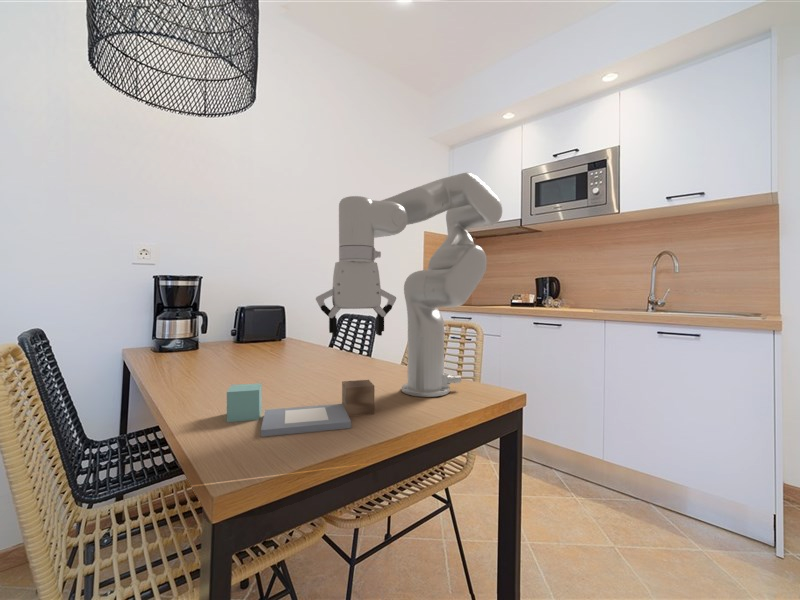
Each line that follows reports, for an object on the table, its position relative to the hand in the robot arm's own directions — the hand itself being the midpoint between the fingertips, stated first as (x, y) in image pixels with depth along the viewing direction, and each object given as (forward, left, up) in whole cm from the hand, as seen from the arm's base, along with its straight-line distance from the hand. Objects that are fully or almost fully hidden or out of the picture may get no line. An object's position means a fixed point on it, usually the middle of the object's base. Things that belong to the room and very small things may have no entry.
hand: (357, 335), depth 81 cm
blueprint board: (+11, +4, -16) cm, 20 cm away
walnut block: (0, 0, -16) cm, 16 cm away
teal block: (+23, -3, -16) cm, 28 cm away
